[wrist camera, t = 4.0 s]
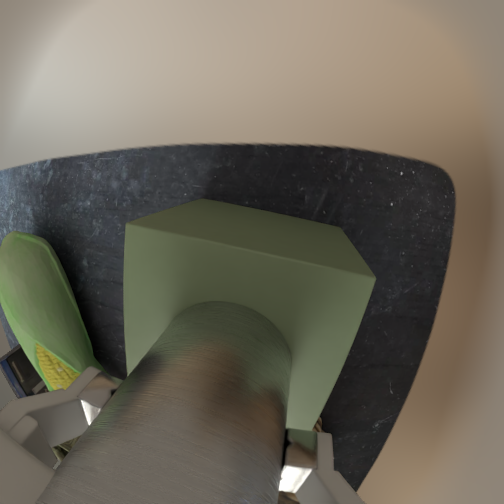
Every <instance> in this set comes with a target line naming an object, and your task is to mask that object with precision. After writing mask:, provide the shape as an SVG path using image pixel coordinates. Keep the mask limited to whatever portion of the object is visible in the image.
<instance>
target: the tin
mask: <svg viewBox="0 0 504 504" xmlns="http://www.w3.org/2000/svg"><path fill="white" fill-rule="evenodd" d="M290 374H291V353H290V349H289V346H288V344H287V342H286V340H285V338H284V336H283V335H282V333H281V332H280V331H279V330H278V328H277V327H276V326H275V325H274V324H273V323H272V322H271V321H270V320H268V319H267V318H266V317H264V316H263V315H261V314H260V313H258V312H256V311H254V310H252V309H250V308H248V307H245V306H242V305H239V304H235V303H230V302H220V301H214V302H205V303H199V304H196V305H193V306H191V307H189V308H187V309H185V310H184V311H182V312H181V313H179V314H178V315H177V316H176V317H175V318H174V319H173V321H172V322H171V323H170V324H169V326H168V327H167V328H166V329H165V331H164V332H163V333H162V334H161V336H160V337H159V338H158V339H157V340H156V342H155V343H154V344H153V345H152V347H151V348H150V349H149V350H148V352H147V353H146V354H145V355H144V357H143V358H142V359H141V360H140V362H139V363H138V364H137V365H136V367H135V368H134V369H133V370H132V372H131V373H130V374H129V375H128V377H127V378H126V379H125V381H124V382H123V383H122V384H121V386H120V387H119V388H118V389H117V391H116V392H115V393H114V394H113V396H112V397H111V398H110V400H109V401H108V402H107V403H106V405H105V406H104V407H103V409H102V410H101V411H100V412H99V414H98V415H97V416H96V418H95V419H94V420H93V421H92V423H91V424H90V425H89V427H88V428H87V429H86V430H85V432H84V433H83V434H82V436H81V437H80V438H79V440H78V441H77V442H76V443H75V445H74V446H73V447H72V449H71V450H70V451H69V453H68V454H67V455H66V457H65V458H64V459H63V461H62V462H61V463H60V465H59V466H58V467H57V469H56V470H55V473H54V475H53V477H52V478H51V480H50V482H49V483H48V485H47V486H46V488H45V490H44V491H43V493H42V494H41V495H40V497H39V498H38V499H37V501H36V502H35V503H34V504H277V503H278V495H279V487H280V479H281V471H282V462H283V453H284V444H285V434H286V423H287V412H288V400H289V388H290Z"/></svg>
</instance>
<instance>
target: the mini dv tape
mask: <svg viewBox="0 0 504 504" xmlns="http://www.w3.org/2000/svg"><path fill="white" fill-rule="evenodd" d="M0 369H1V371H2V373H3V374H4V376H5V378H6V380H7V381H8V383H9V385H10V387H11V388H12V390H13V392H14V393H15V395H16V396H17V398H18V399H19V398H24V397H28V396H33V395H37V394H41V393H46V392H50V391H49V389H48V388H47V386H46V384H45V382H44V381H43V379H42V378H41V376H40V375H39V374H38V372H37V371H36V369H35V368H34V366H33V365H32V363H31V362H30V360H29V359H28V357H27V355H26V354H25V352H24V350H23V349H22V347H21V345H20V344H19V345H17V346H16V347H15V348H13V349H12V350H11V351H9V352H8V353H7V354H5V355H4V356H3V357H2V358H0Z"/></svg>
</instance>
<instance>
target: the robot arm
mask: <svg viewBox="0 0 504 504" xmlns="http://www.w3.org/2000/svg"><path fill="white" fill-rule="evenodd" d="M123 382H124V381H122V380H120V379H118V378H116V377H114V376H112V375H109V374H107V373H105V372H103V371H101V370H99V369H97V368H95V367H93V366H90V367H87V368H86V369H85V370H84V371H83V372H82V373H81V374H80V375H79V376H78V377H77V378H76V379H75V380H74V381H73V382H72V383H71V384H70V386H69V387H68V388H67V389H66V390H64V389H58V390H54V391H50V392H46V393H41V394H37V395H33V396H28V397H24V398H19V399H14V400H11V401H10V402H9V403H8V404H7V405H5V406H4V407H3V409H1V410H0V504H34V503H35V502H36V501H37V499H38V498H39V497H40V495H41V494H42V493H43V491H44V490H45V488H46V486H47V485H48V483H49V482H50V480H51V478H52V477H53V475H54V473H55V470H54V469H53V467H54V465H55V464H56V462H57V457H56V455H55V454H54V452H53V450H52V447H54V446H57V445H59V444H61V443H64V442H66V441H69V440H71V439H73V438H76V437H78V436H80V435H82V434H83V433H84V432H85V430H86V429H87V428H88V427H89V425H90V424H91V423H92V421H93V420H94V419H95V418H96V416H97V415H98V414H99V412H100V411H101V410H102V409H103V407H104V406H105V405H106V403H107V402H108V401H109V400H110V398H111V397H112V396H113V394H114V393H115V392H116V391H117V389H118V388H119V387H120V386H121V384H122V383H123ZM279 491H284V492H291V493H295V495H296V497H297V499H298V501H299V503H300V504H365V503H364V501H363V500H362V499H361V498H360V497H359V496H358V495H357V493H356V492H355V491H354V490H353V489H352V487H351V486H350V485H349V484H348V483H347V481H346V480H345V479H344V478H343V477H342V475H341V474H340V473H339V472H338V471H334V461H333V443H332V435H331V433H322V432H315V431H308V430H300V429H293V428H287V429H286V434H285V444H284V453H283V462H282V471H281V479H280V487H279Z"/></svg>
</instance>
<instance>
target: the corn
mask: <svg viewBox="0 0 504 504" xmlns="http://www.w3.org/2000/svg"><path fill="white" fill-rule="evenodd" d="M0 303H1V305H2V308H3V311H4V313H5V316H6V318H7V320H8V323H9V325H10V327H11V329H12V330H13V332H14V334H15V336H16V338H17V340H18V341H19V343H20V345H21V347H22V349H23V350H24V352H25V354H26V355H27V357H28V359H29V360H30V362H31V363H32V365H33V366H34V368H35V369H36V371H37V372H38V374H39V375H40V376H41V378H42V379H43V381H44V382H45V384H46V386H47V388H48V389H49V391H54V390H58V389H64V390H66V389H67V388H68V387H69V386H70V384H71V383H72V382H73V381H74V380H75V379H76V378H77V377H78V376H79V375H80V374H81V373H82V372H83V371H84V370H85V369H86V368H87V367H90V366H93V367H95V368H97V369H99V370H101V371H103V372H105V373H107V374H109V373H108V372H106V371H105V370H104V368H103V367H102V366H101V365H100V363H99V362H98V361H97V360H96V359H95V357H94V356H93V350H92V345H91V342H90V339H89V336H88V334H87V331H86V328H85V326H84V323H83V320H82V318H81V315H80V312H79V308H78V305H77V303H76V300H75V297H74V294H73V291H72V289H71V286H70V283H69V281H68V278H67V276H66V274H65V271H64V269H63V267H62V265H61V262H60V260H59V258H58V257H57V255H56V253H55V251H54V249H53V248H52V246H51V245H50V244H49V243H48V242H47V241H46V240H45V239H43V238H41V237H38V236H36V235H33V234H30V233H23V232H19V231H13V232H11V233H9V234H8V235H6V236H5V238H4V239H3V241H2V244H1V247H0ZM109 375H110V374H109Z"/></svg>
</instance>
